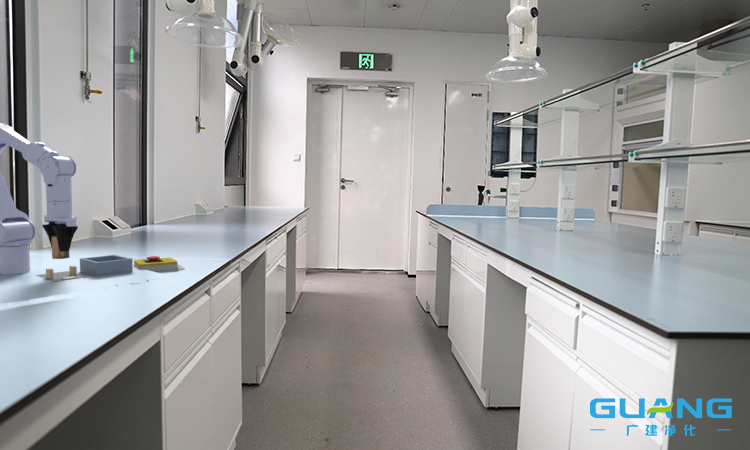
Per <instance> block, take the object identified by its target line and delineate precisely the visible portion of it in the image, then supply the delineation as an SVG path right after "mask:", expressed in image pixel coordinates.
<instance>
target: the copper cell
mask: <svg viewBox="0 0 750 450" xmlns="http://www.w3.org/2000/svg"><path fill="white" fill-rule="evenodd" d="M51 238H52V247H51V259H53V260H64V259H70V256H71V255H70V250H69V251H65V252H60V251H59V247H58V241H57V237H56V235H55V236H51Z"/></svg>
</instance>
